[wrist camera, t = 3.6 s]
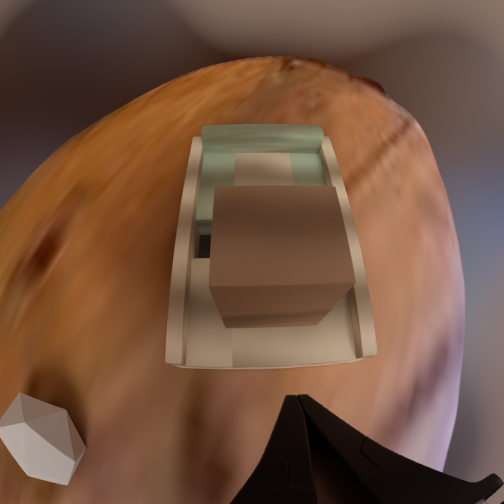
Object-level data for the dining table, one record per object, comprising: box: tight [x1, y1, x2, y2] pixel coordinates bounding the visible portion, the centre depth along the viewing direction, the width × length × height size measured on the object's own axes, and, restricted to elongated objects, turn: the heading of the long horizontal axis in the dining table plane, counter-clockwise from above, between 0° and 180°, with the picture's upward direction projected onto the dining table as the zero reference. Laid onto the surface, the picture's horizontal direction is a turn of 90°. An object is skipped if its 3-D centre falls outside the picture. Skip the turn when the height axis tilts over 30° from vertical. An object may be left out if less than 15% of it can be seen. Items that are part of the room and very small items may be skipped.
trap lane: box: [165, 124, 377, 369], centre depth 25 cm, size 24×15×6 cm, turn 1°
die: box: [0, 392, 87, 485], centre depth 14 cm, size 8×9×10 cm
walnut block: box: [209, 185, 356, 328], centre depth 18 cm, size 6×7×9 cm
